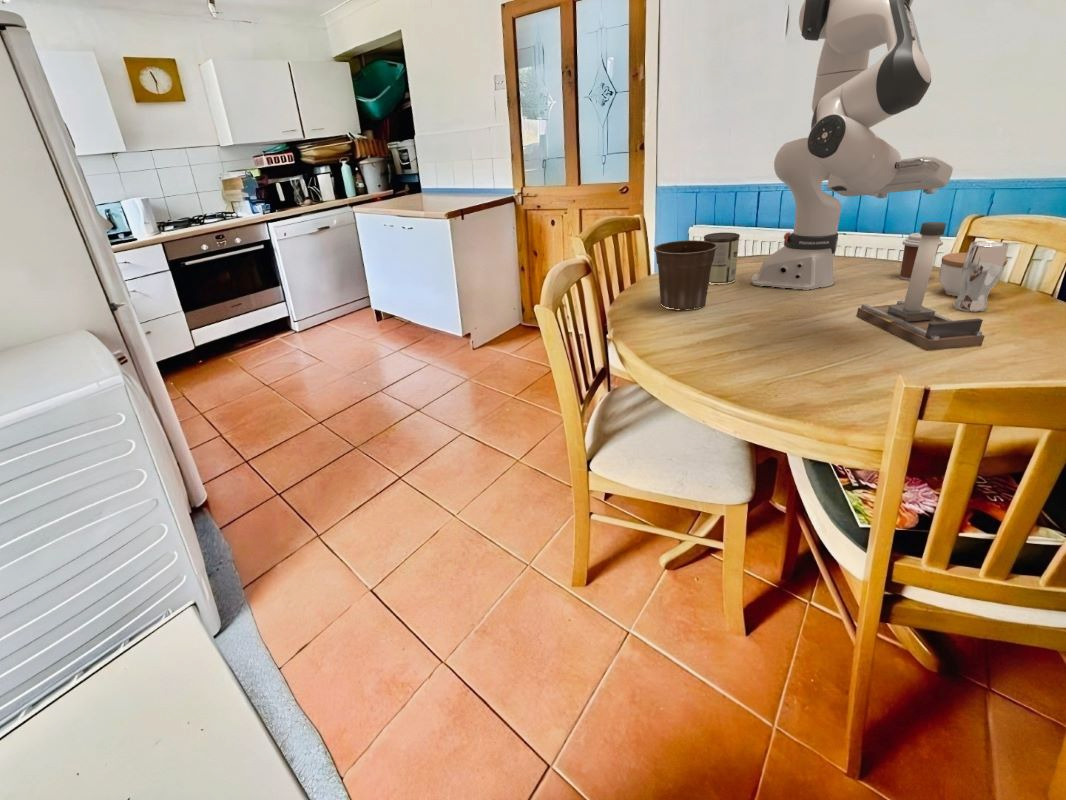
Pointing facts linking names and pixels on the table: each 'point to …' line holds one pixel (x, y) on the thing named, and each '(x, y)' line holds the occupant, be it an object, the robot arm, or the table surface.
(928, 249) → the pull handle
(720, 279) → the coffee can
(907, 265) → the coffee cup
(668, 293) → the plant pot
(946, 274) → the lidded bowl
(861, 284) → the table surface
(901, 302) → the press bed
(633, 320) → the table surface
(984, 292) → the beer glass
